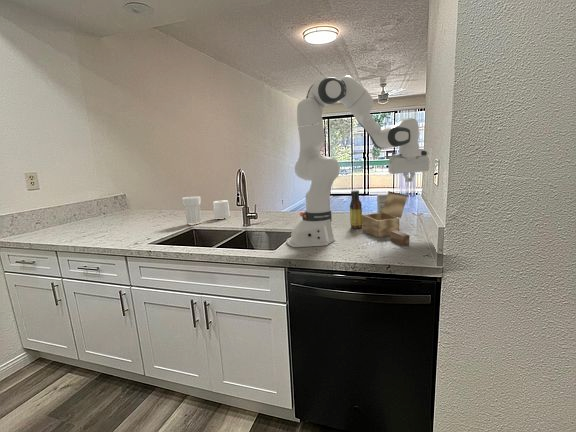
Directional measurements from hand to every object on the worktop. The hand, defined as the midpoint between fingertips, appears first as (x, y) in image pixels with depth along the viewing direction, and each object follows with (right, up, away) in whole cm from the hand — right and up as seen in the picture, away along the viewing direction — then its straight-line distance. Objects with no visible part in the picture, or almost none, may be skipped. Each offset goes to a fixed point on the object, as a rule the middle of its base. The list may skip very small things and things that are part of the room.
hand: (408, 181), depth 160 cm
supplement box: (-6, -22, +15) cm, 27 cm away
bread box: (-14, -25, +1) cm, 29 cm away
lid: (-7, -11, 0) cm, 13 cm away
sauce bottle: (-23, -23, +15) cm, 36 cm away
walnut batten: (-11, -29, -18) cm, 35 cm away
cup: (-120, -22, +51) cm, 132 cm away
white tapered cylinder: (-105, -19, +64) cm, 124 cm away
